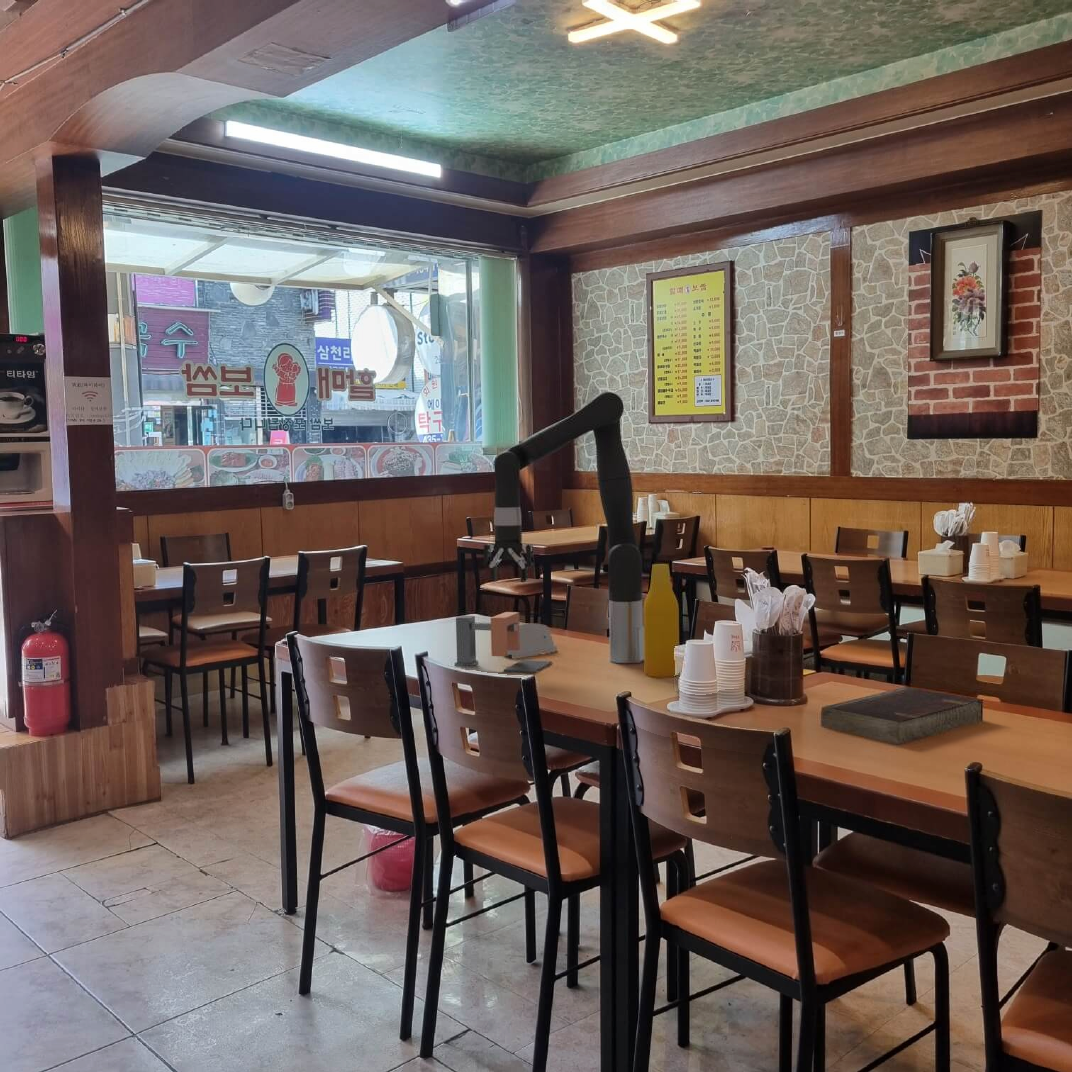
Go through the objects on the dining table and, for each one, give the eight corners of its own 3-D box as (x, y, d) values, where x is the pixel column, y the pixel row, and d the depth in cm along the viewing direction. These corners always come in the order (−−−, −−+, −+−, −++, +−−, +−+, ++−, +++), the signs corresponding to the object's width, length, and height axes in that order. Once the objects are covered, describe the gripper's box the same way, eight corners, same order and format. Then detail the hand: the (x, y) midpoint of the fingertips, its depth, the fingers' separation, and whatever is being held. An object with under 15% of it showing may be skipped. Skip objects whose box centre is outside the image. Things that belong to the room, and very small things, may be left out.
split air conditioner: (512, 659, 299) (505, 625, 301) (503, 662, 303) (496, 628, 305) (558, 651, 309) (551, 619, 311) (550, 655, 313) (542, 622, 315)
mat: (552, 663, 291) (552, 661, 291) (534, 673, 278) (534, 671, 278) (522, 662, 294) (522, 660, 294) (503, 671, 281) (503, 669, 281)
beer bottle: (678, 678, 268) (677, 566, 266) (642, 678, 270) (640, 566, 267) (680, 671, 277) (679, 562, 275) (646, 670, 279) (644, 562, 276)
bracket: (519, 665, 290) (518, 617, 289) (513, 668, 285) (511, 619, 284) (462, 662, 296) (460, 615, 295) (454, 665, 291) (453, 617, 290)
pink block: (519, 649, 293) (519, 612, 292) (505, 656, 282) (504, 618, 281) (506, 648, 294) (505, 611, 293) (491, 655, 284) (490, 617, 283)
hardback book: (905, 707, 235) (905, 685, 234) (982, 722, 219) (982, 699, 219) (821, 728, 218) (820, 705, 218) (898, 747, 203) (898, 722, 202)
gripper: (536, 522, 290) (537, 580, 291) (489, 522, 295) (490, 579, 296) (527, 524, 283) (528, 583, 284) (478, 524, 288) (480, 582, 289)
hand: (509, 581), depth 290 cm, fingers open, 8 cm apart
